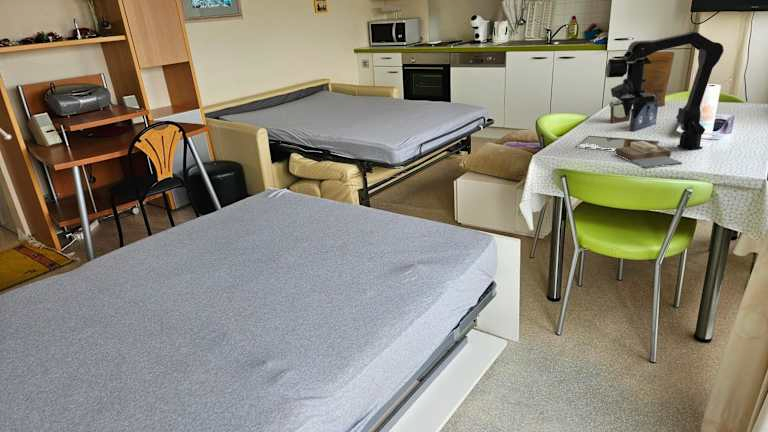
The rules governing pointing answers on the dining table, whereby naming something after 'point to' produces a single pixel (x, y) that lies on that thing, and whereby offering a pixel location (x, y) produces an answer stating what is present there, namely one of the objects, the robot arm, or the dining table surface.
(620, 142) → the rectangular mirror
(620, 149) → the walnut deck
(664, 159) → the rubber mat
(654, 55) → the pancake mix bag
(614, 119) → the food container
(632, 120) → the vhs cassette tape
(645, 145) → the maple tile
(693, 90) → the robot arm
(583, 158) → the dining table surface
